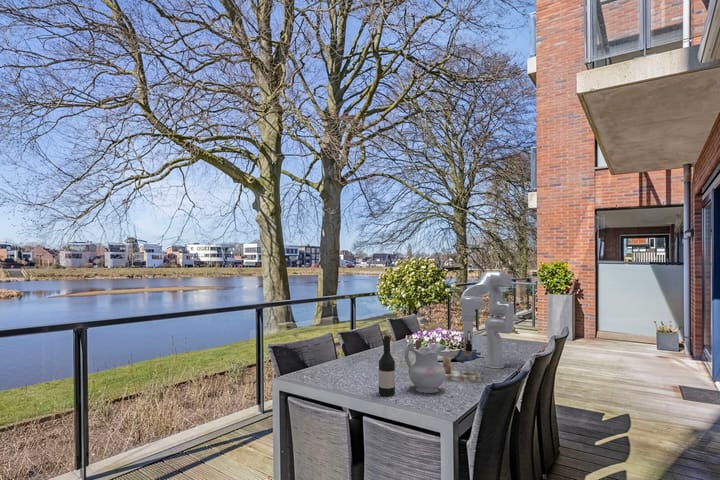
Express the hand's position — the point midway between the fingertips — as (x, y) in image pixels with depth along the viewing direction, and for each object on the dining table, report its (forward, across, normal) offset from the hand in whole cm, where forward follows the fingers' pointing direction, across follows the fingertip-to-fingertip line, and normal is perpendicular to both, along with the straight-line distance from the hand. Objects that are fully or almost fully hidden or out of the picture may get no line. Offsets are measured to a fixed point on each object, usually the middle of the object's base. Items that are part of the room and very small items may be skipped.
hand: (468, 349), depth 248 cm
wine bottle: (+18, +36, -43) cm, 59 cm away
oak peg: (+3, 0, 0) cm, 3 cm away
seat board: (+17, 0, -6) cm, 18 cm away
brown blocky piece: (+17, -16, -27) cm, 36 cm away
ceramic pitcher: (+18, +26, -24) cm, 39 cm away
